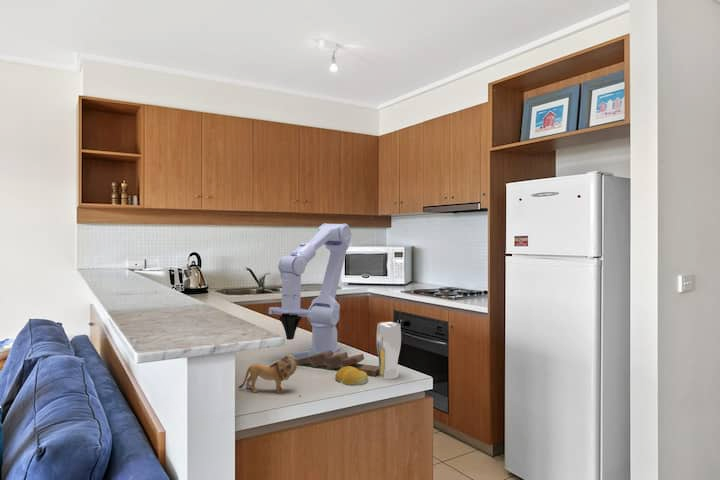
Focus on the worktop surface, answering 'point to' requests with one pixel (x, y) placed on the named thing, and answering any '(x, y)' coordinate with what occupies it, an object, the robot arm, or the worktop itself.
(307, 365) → the mat
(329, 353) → the domino
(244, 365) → the worktop surface
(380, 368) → the beer glass
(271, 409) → the worktop surface
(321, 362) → the domino
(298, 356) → the domino
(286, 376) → the lion figurine
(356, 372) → the bread roll
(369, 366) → the domino
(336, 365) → the domino
